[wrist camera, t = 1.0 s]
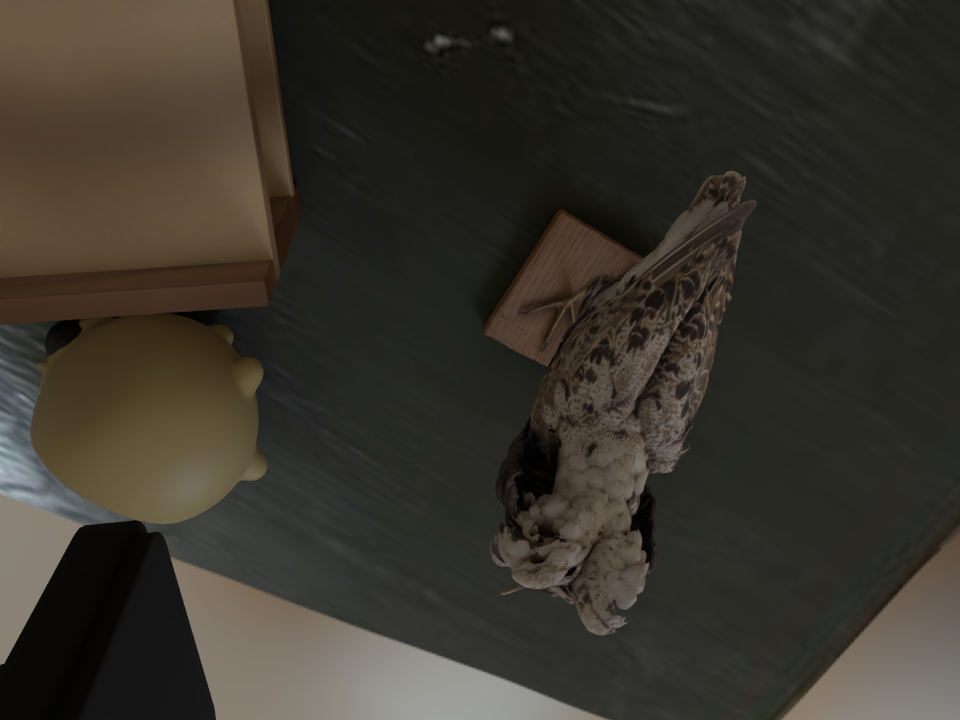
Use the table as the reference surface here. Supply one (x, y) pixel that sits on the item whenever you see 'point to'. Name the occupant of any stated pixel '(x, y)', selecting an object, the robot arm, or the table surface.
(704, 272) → the stuffed bird
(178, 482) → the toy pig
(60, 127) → the rack
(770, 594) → the table surface
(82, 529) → the robot arm
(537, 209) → the table surface
